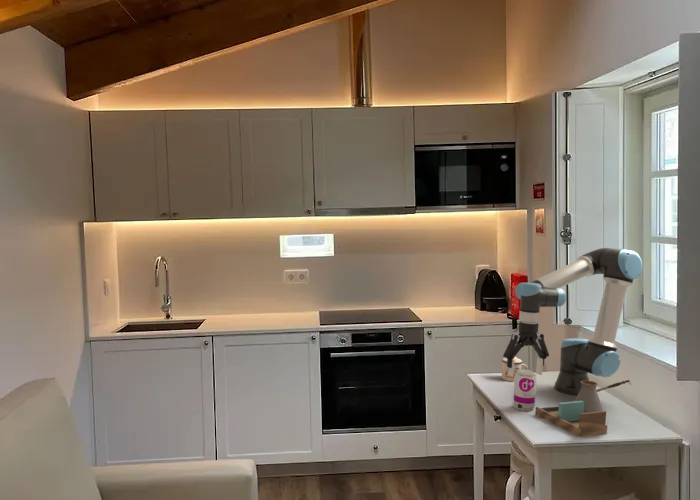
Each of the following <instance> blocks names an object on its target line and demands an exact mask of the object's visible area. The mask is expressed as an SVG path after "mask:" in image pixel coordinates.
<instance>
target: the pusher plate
mask: <svg viewBox="0 0 700 500" xmlns="http://www.w3.org/2000/svg"><path fill="white" fill-rule="evenodd" d="M558 406H559V411H558V417H559V418H561V419H563V420H565V421H567V422H570V421H579V419H580V413H583V412H584V402H583V401H575V400H573V401H566V402H558Z"/></svg>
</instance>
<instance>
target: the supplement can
mask: <svg viewBox="0 0 700 500" xmlns="http://www.w3.org/2000/svg"><path fill="white" fill-rule="evenodd" d="M513 387H514V388H513V403H512V406H513V407H514V408H515V409H516V410H518V411H522V412H531V411H533V410H534V409H535V408H536V407H535V405H536V404H535V403H536V390H537V389H536V387H537V373H536V371H534V370H532V369H529V368H528V369H526V368H521V369H518V370H517V372H516V373H515V381H514V386H513Z"/></svg>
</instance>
